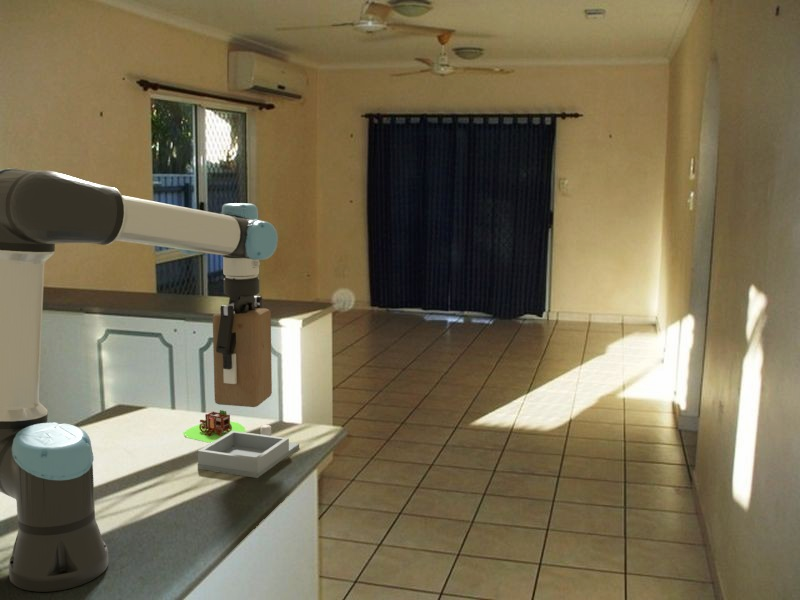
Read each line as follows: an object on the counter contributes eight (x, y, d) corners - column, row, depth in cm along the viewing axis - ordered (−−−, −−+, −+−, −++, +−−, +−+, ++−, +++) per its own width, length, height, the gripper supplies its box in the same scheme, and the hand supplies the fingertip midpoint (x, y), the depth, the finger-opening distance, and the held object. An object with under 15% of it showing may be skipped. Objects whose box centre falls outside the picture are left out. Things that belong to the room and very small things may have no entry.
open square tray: (257, 478, 182) (257, 455, 181) (197, 468, 186) (197, 446, 185) (299, 447, 200) (298, 427, 199) (243, 440, 205) (243, 419, 204)
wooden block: (257, 408, 183) (255, 316, 179) (213, 405, 185) (210, 313, 181) (273, 395, 192) (272, 307, 189) (231, 392, 194) (229, 305, 191)
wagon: (222, 447, 201) (222, 422, 200) (174, 436, 208) (173, 412, 207) (262, 430, 214) (261, 406, 213) (214, 420, 221) (214, 397, 220)
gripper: (229, 285, 172) (231, 392, 176) (282, 270, 193) (283, 366, 197) (196, 282, 174) (199, 388, 178) (252, 268, 196) (253, 363, 199)
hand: (243, 376), depth 188 cm, fingers closed on wooden block, 10 cm apart
